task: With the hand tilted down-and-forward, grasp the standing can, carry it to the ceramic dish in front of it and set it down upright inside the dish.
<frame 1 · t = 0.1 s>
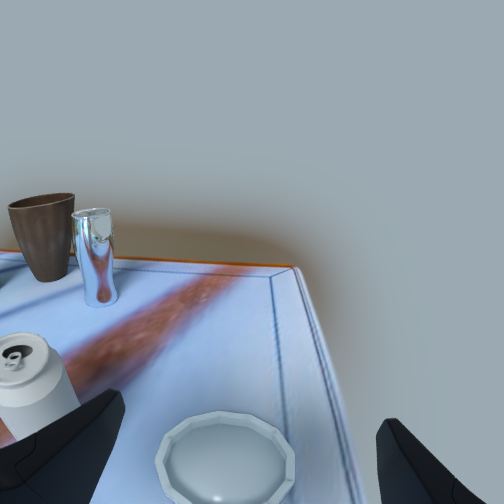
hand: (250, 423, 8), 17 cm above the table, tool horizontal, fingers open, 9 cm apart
plant pot: (50, 275, 52), on the table
dish: (225, 469, 20), on the table
can: (65, 449, 19), on the table
beer glass: (101, 300, 46), on the table
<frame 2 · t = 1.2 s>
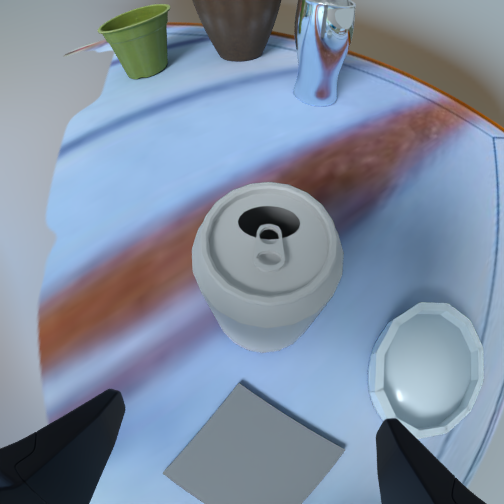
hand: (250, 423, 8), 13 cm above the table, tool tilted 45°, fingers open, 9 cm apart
plant pot: (240, 53, 43), on the table
dish: (426, 371, 21), on the table
can: (264, 308, 24), on the table
mat: (253, 467, 18), on the table
plant pot 2: (147, 70, 42), on the table
beer glass: (314, 95, 37), on the table
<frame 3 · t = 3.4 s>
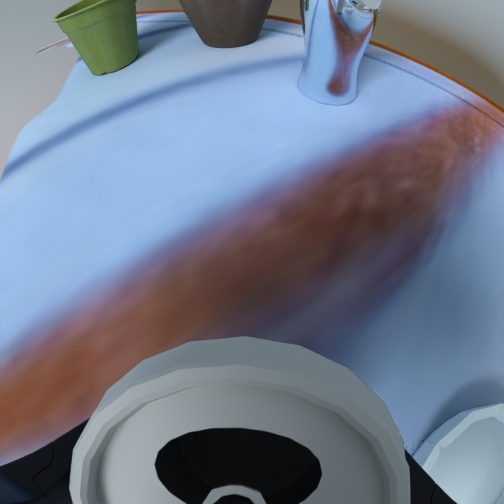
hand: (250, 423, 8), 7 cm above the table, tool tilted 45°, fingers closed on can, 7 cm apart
plant pot: (229, 39, 33), on the table
dish: (461, 484, 11), on the table
can: (250, 432, 14), on the table, touching gripper
plant pot 2: (114, 64, 32), on the table
beer glass: (326, 90, 26), on the table
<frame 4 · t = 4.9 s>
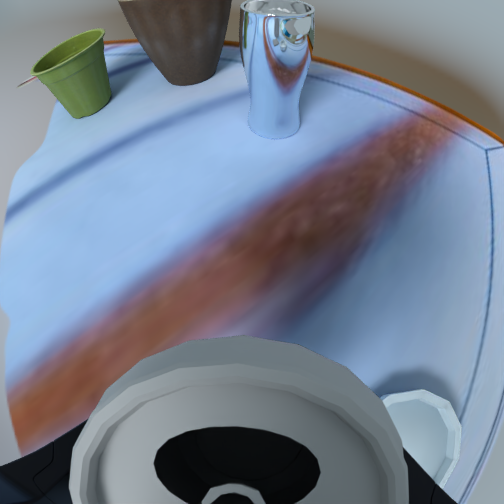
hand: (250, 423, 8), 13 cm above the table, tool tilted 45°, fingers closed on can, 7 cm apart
plant pot: (190, 74, 38), on the table
dish: (395, 456, 17), on the table
can: (249, 431, 14), point 6 cm above the table, touching gripper
plant pot 2: (91, 105, 37), on the table
beer glass: (273, 123, 33), on the table
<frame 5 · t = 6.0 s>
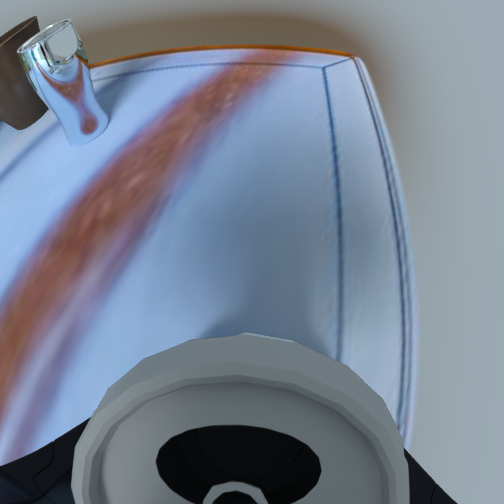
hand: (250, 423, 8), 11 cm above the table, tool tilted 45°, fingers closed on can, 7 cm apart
plant pot: (32, 115, 35), on the table
can: (250, 431, 14), point 4 cm above the table, touching gripper
beer glass: (88, 130, 31), on the table
when the fingers open (8 cm above the table, at t = 7.0 s): can stays where it is, resting on dish.
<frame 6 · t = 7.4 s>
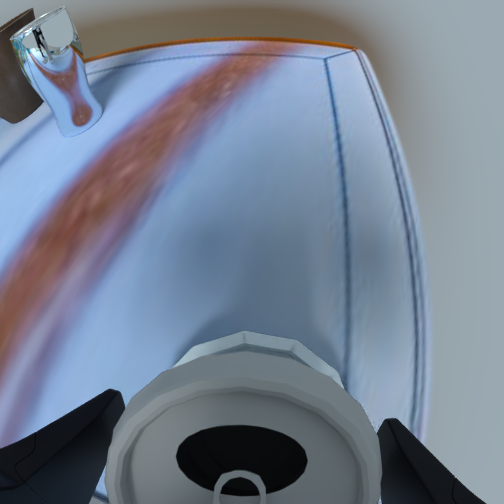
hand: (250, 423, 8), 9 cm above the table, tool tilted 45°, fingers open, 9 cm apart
plant pot: (27, 109, 33), on the table
dish: (251, 427, 16), on the table
can: (251, 431, 15), resting on dish
beer glass: (81, 121, 29), on the table
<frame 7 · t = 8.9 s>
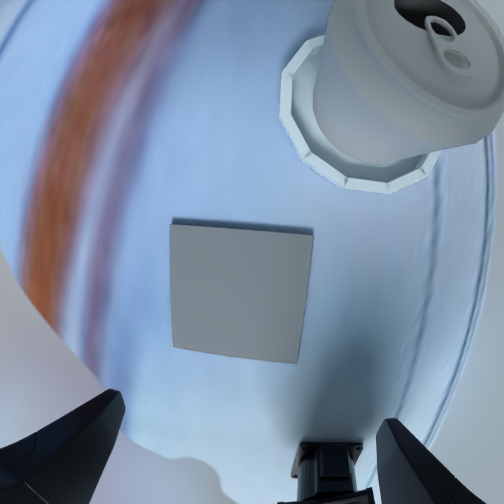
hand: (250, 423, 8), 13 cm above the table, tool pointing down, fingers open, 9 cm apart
dish: (364, 110, 18), on the table
can: (366, 111, 17), resting on dish
mat: (236, 296, 22), on the table
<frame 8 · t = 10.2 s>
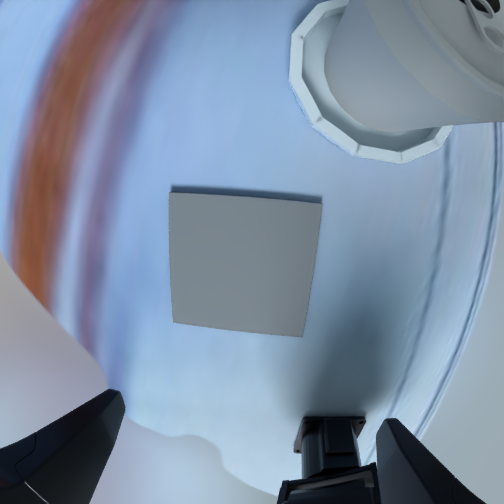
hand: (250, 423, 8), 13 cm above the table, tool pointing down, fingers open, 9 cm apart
dish: (375, 77, 16), on the table
can: (378, 78, 15), resting on dish
mat: (240, 267, 21), on the table
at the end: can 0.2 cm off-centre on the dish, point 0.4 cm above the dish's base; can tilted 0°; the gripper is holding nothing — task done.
